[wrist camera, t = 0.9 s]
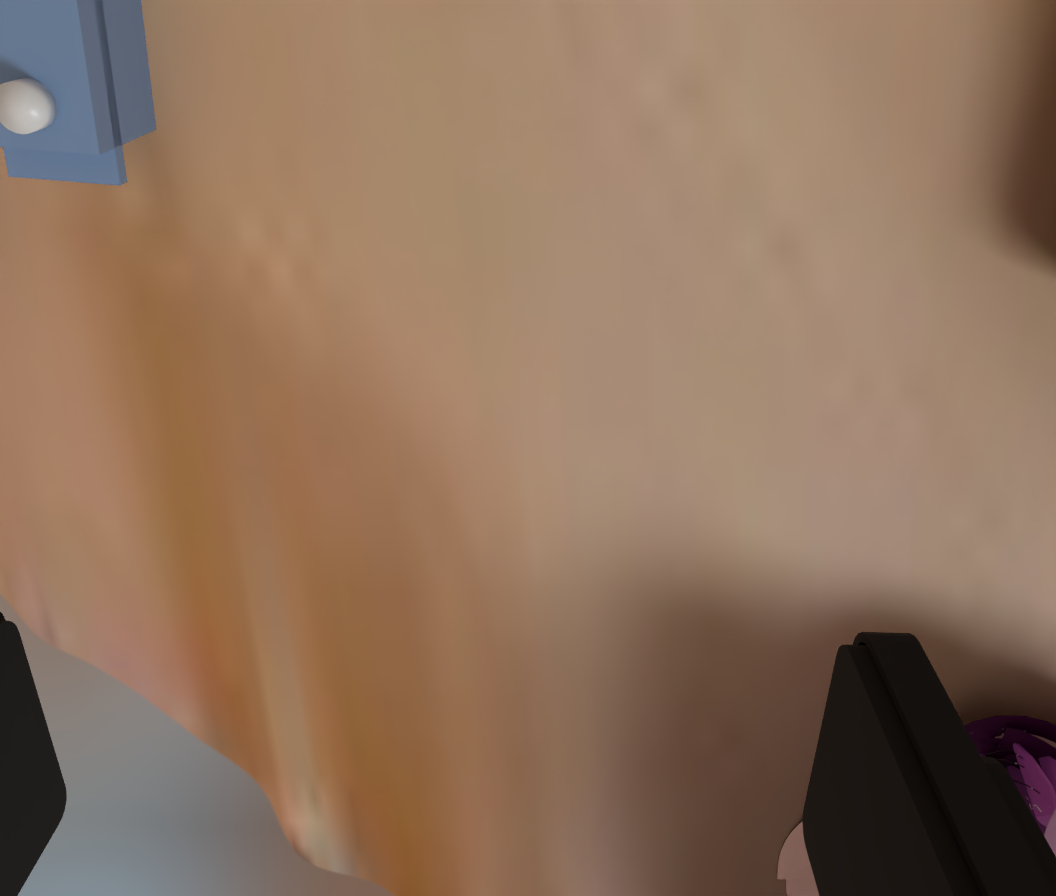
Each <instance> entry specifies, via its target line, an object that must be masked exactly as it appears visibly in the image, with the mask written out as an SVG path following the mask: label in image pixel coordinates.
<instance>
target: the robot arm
mask: <svg viewBox="0 0 1056 896" xmlns="http://www.w3.org/2000/svg"><path fill="white" fill-rule="evenodd" d="M65 805H66V787H65V783H64V780H63V777H62V774H61V770H60V767H59V763H58V760H57V757H56V753H55V750H54V747H53V743H52V740H51V737H50V733H49V730H48V727H47V723H46V720H45V717H44V713H43V710H42V707H41V703H40V700H39V697H38V694H37V690H36V687H35V684H34V680H33V677H32V673H31V670H30V667H29V663H28V660H27V657H26V654H25V650H24V647H23V644H22V640H21V637H20V633H19V631H18V629H17V627H16V625H15V624H14V623H13V622H11V621H6V620H5V619H4V616H3V614H2V613H1V612H0V896H17V895H18V893H19V892H20V890H21V888H22V887H23V885H24V883H25V881H26V880H27V878H28V876H29V875H30V873H31V871H32V869H33V867H34V866H35V864H36V863H37V861H38V859H39V857H40V856H41V854H42V852H43V850H44V849H45V847H46V845H47V844H48V842H49V840H50V838H51V837H52V835H53V833H54V832H55V830H56V828H57V826H58V825H59V822H60V821H61V819H62V816H63V813H64V810H65ZM803 836H804V842H805V847H806V850H807V854H808V857H809V861H810V864H811V868H812V872H813V875H814V879H815V882H816V886H817V889H818V893H819V896H1056V856H1055V854H1054V853H1053V851H1052V849H1051V847H1050V846H1049V844H1048V842H1047V840H1046V838H1045V837H1044V835H1043V833H1042V831H1041V829H1040V828H1039V826H1038V824H1037V822H1036V821H1035V819H1034V817H1033V815H1032V813H1031V812H1030V810H1029V808H1028V806H1027V805H1026V803H1025V801H1024V799H1023V797H1022V796H1021V794H1020V792H1019V790H1018V789H1017V787H1016V785H1015V783H1014V781H1013V780H1012V778H1011V776H1010V775H1009V773H1008V772H1007V770H1006V769H1005V768H1004V766H1003V765H1002V764H1001V763H1000V762H999V761H997V760H996V759H994V758H993V757H981V756H980V754H979V752H978V751H977V749H976V747H975V745H974V743H973V741H972V739H971V738H970V736H969V734H968V732H967V730H966V728H965V726H964V725H963V723H962V721H961V719H960V717H959V715H958V713H957V712H956V710H955V708H954V706H953V704H952V702H951V700H950V699H949V697H948V695H947V693H946V691H945V689H944V687H943V685H942V684H941V682H940V680H939V678H938V676H937V674H936V672H935V671H934V669H933V667H932V665H931V663H930V661H929V659H928V658H927V656H926V654H925V652H924V650H923V648H922V646H921V645H920V643H919V641H918V640H917V638H916V637H915V636H914V635H912V634H910V633H877V632H861V633H858V635H857V636H856V637H855V640H854V643H853V645H841V646H840V647H839V649H838V652H837V655H836V660H835V665H834V669H833V674H832V679H831V684H830V688H829V693H828V698H827V702H826V707H825V712H824V716H823V721H822V726H821V731H820V735H819V740H818V745H817V749H816V754H815V759H814V763H813V768H812V773H811V777H810V782H809V787H808V792H807V796H806V801H805V806H804V811H803Z"/></svg>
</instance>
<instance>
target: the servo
mask: <svg viewBox="0 0 1056 896" xmlns="http://www.w3.org/2000/svg"><path fill="white" fill-rule="evenodd" d="M154 130H156V124H155V115H154V107H153V99H152V90H151V82H150V73H149V65H148V57H147V48H146V40H145V31H144V23H143V15H142V6H141V0H0V147H3V150H4V155H5V160H6V165H7V170H8V175H9V177H21V178H34V179H46V180H59V181H71V182H84V183H96V184H109V185H122V184H124V183H125V182H127V177H126V170H125V163H124V156H123V148H122V145H123V144H125V143H127V142H129V141H131V140H134V139H136V138H138V137H140V136H143V135H145V134H147V133H149V132H151V131H154Z"/></svg>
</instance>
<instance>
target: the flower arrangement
mask: <svg viewBox="0 0 1056 896" xmlns="http://www.w3.org/2000/svg"><path fill="white" fill-rule="evenodd" d="M965 728H966V730H967V732H968V734H969V736H970V738H971V739H972V741H973V743H974V745H975V747H976V749H977V751H978V752H979V754H980V756H981V757H993V758H994V759H996V760H997V761H999V762H1000V763H1001V764H1002V765H1003V766H1004V768H1005V769H1006V770H1007V772H1008V773H1009V775H1010V776H1011V778H1012V780H1013V781H1014V783H1015V785H1016V787H1017V789H1018V790H1019V792H1020V794H1021V796H1022V797H1023V799H1024V801H1025V803H1026V805H1027V806H1028V808H1029V810H1030V812H1031V813H1032V815H1033V817H1034V819H1035V821H1036V822H1037V824H1038V826H1039V828H1040V829H1041V831H1042V833H1043V835H1044V837H1045V838H1046V840H1047V842H1048V844H1049V846H1050V847H1051V849H1052V851H1053V853H1054V854H1055V856H1056V726H1055V725H1054V724H1052V723H1050V722H1048V721H1044V720H1039V719H1035V718H1031V717H1027V716H994V717H990V718H986V719H982V720H978V721H974V722H971V723H969V724H967V725H965ZM777 877H778V880H783V879H786V891H787V896H819V893H818V889H817V886H816V882H815V879H814V875H813V872H812V868H811V864H810V861H809V857H808V854H807V850H806V847H805V842H804V836H803V821H802V822H801V823H800V824H799V825H798V826H797V827H796V828H795V829H794V830H793V831H792V832H791V834H790V835H789V836H788V838H787V839H786V841H785V843H784V845H783V847H782V850H781V853H780V856H779V861H778V875H777Z"/></svg>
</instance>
